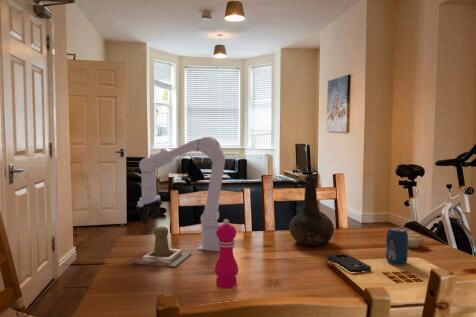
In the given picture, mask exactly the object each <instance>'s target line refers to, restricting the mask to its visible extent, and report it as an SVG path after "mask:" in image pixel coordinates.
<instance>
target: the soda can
mask: <svg viewBox="0 0 476 317" xmlns="http://www.w3.org/2000/svg"><path fill="white" fill-rule="evenodd" d="M406 231H407V229H406V228H404V227H397V226H390V227H388V230H387V231H386V237H385V238H386V242H385V243H386V244H385V259H386V261H387V263H388V264H391V265H393V266H404V265H406V263H407V262H408V251H409V250H408V248H409V247H408V234H407V232H406Z"/></svg>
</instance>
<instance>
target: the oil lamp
mask: <svg viewBox="0 0 476 317" xmlns="http://www.w3.org/2000/svg"><path fill="white" fill-rule="evenodd" d="M406 232H407V234H408V248H409V249H417V248H419V247H420V246H422V245H424V242H425V240H424V238H423V236H421V235H420V234H417V233H416V232H415V231H411V230H406Z"/></svg>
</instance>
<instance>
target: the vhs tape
mask: <svg viewBox="0 0 476 317" xmlns="http://www.w3.org/2000/svg"><path fill="white" fill-rule="evenodd" d="M327 260H328V262H331V263H332V262H334V263H337V264H339V265H340V266H342V267H344V268H345V269H347V270H348V271H350V272H362V271H369V272H371V271H372V266H371V265H369V264H367V263H365V262H363V261H361V260H359V259H358V258H355V257H353V256H352V255H350V254H348V253H340V254H333V255H332V254H331V255H327ZM334 263H333V264H334ZM362 265H363V266H364V267H363V266H362ZM362 273H363V272H362Z"/></svg>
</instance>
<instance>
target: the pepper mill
mask: <svg viewBox="0 0 476 317" xmlns="http://www.w3.org/2000/svg"><path fill="white" fill-rule="evenodd" d="M222 222H223V224H219V225H220V226H219V227H218V228H217V231H216V235H217V237H218V238H219V240H218V245H219V246H220V251H219V256H218V258H217V260H216V262H215V265H214V274H215V275H216V276H217V277H216V278H215V283H216V286H217V287H219V288H222V289H231V288H234V287H236V286H237V283H238V282H237V281H238V280H237V279H238V278H237V276H238V273H239V266H238V263H237V261H236V258H235V256H234V246H235V240H234V239H235V238H236V237H237V229H236V228H235V226H234V225H233V224H230V220H229V219H227V218H225V219H223V221H222Z"/></svg>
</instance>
